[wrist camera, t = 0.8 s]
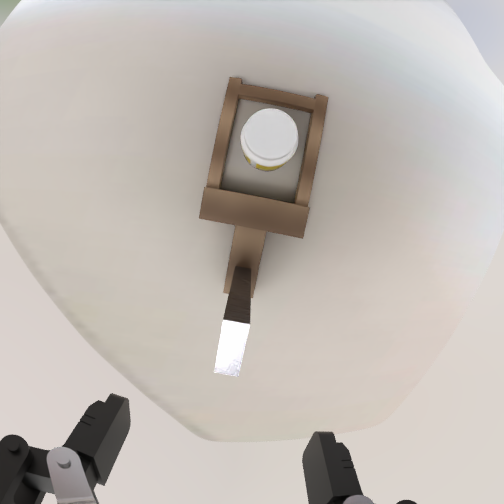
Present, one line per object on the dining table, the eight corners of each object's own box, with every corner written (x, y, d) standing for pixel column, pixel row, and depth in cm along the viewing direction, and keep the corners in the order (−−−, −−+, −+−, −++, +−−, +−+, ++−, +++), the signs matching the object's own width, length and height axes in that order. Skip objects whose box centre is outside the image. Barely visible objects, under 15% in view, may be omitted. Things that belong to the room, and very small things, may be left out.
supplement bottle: (299, 145, 28) (316, 129, 20) (271, 180, 29) (278, 177, 21) (261, 117, 27) (264, 91, 19) (233, 152, 28) (225, 138, 20)
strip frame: (231, 82, 26) (214, 9, 13) (324, 101, 27) (375, 44, 13) (192, 288, 31) (152, 358, 17) (282, 305, 31) (300, 384, 18)
